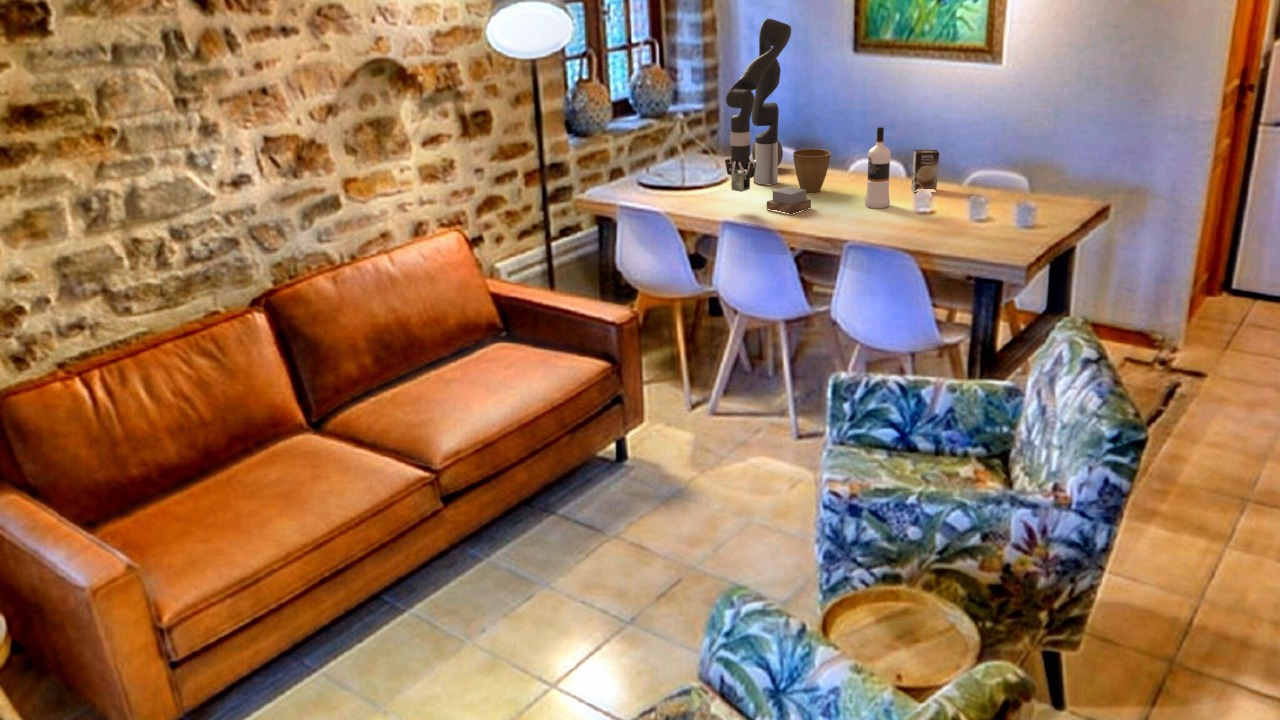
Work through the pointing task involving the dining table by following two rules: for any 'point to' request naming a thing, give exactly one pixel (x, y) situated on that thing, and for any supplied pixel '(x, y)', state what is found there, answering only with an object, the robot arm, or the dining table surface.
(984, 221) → the dining table surface
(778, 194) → the tower upper block
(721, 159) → the dining table surface
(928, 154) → the coffee box
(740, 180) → the sage block
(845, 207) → the dining table surface
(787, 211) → the tower lower block
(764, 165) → the robot arm
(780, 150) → the grey curved pieces
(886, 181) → the vodka
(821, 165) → the plant pot
